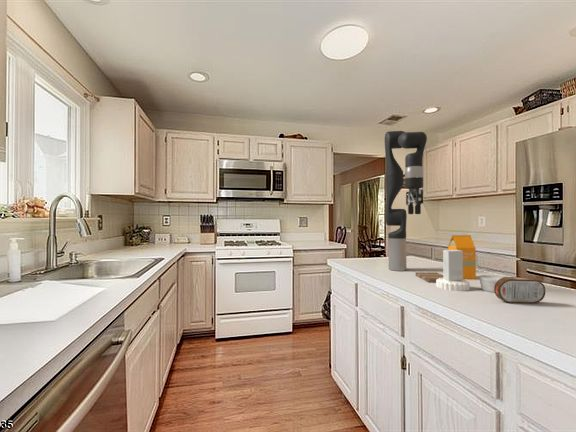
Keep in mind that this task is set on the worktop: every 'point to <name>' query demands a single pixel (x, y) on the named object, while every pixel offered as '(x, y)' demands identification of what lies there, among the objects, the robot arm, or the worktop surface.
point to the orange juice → (465, 254)
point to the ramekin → (489, 282)
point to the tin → (519, 290)
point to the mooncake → (453, 285)
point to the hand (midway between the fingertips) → (414, 214)
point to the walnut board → (429, 276)
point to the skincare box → (452, 265)
